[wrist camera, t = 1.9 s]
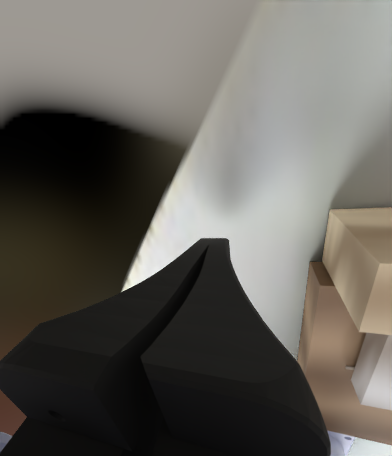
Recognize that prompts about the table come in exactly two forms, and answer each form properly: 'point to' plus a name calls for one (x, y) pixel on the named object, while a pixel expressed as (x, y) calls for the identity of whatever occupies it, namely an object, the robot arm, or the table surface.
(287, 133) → the table surface
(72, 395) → the robot arm
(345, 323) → the oak board
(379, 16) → the table surface
